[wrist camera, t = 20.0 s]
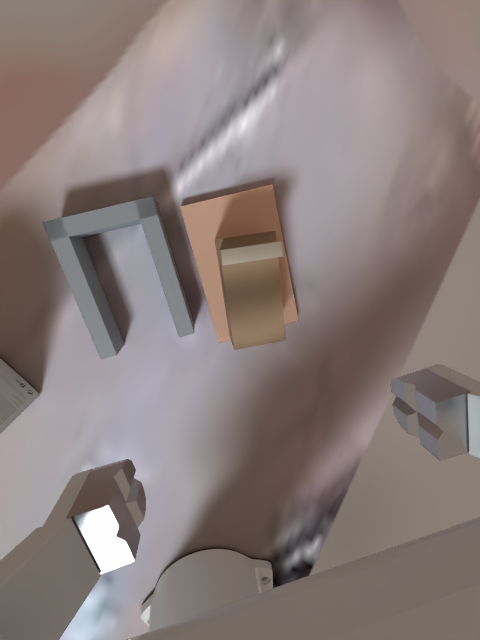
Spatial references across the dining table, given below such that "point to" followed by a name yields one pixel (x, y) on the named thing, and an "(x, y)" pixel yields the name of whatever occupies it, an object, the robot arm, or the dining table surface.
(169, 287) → the frame
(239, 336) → the walnut block
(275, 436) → the dining table surface
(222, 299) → the rubber pad
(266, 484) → the dining table surface
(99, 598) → the dining table surface
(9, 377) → the skincare box
